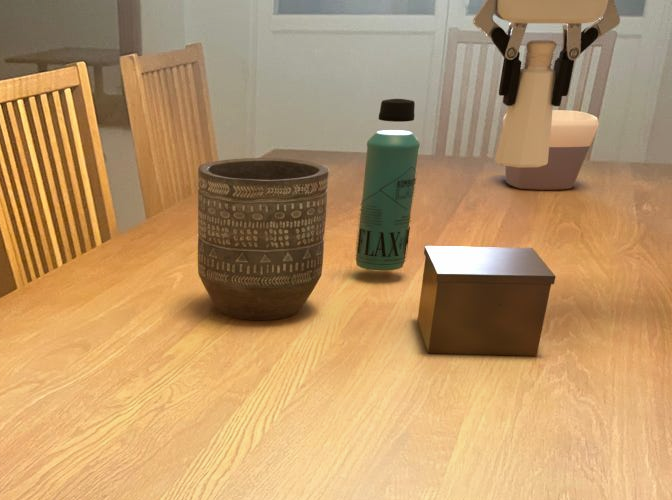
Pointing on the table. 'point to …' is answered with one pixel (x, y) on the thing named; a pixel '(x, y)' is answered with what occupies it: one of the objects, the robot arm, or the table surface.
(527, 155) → the cream bottle
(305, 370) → the table surface
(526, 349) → the walnut box
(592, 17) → the robot arm
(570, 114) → the bowl
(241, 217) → the planter
